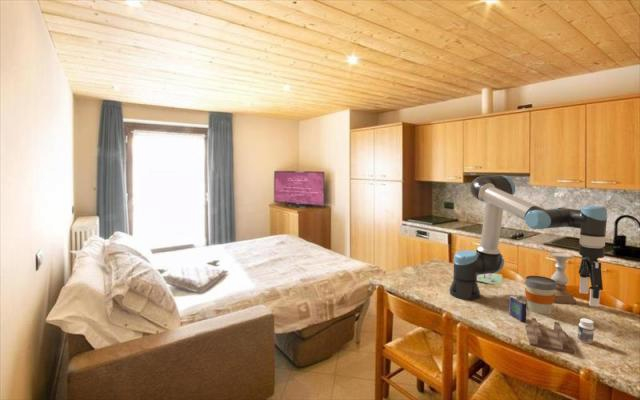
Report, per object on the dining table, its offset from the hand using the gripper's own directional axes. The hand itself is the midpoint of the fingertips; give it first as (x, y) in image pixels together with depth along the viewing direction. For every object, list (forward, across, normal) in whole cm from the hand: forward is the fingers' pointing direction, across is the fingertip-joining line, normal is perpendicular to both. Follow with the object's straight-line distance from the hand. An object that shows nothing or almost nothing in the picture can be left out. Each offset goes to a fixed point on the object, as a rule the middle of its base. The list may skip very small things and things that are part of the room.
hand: (588, 299), depth 126 cm
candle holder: (+17, +44, +1) cm, 48 cm away
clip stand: (+17, -5, +13) cm, 22 cm away
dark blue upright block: (+17, +11, +22) cm, 30 cm away
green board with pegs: (+17, +66, +34) cm, 76 cm away
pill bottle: (+17, 0, 0) cm, 17 cm away
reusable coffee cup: (+17, +25, +12) cm, 33 cm away
